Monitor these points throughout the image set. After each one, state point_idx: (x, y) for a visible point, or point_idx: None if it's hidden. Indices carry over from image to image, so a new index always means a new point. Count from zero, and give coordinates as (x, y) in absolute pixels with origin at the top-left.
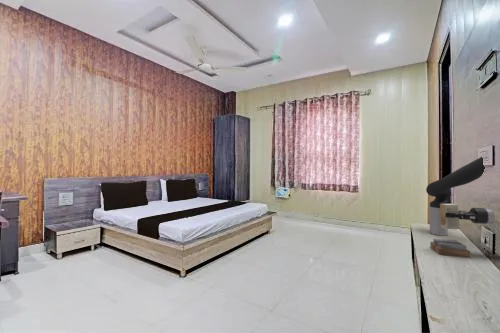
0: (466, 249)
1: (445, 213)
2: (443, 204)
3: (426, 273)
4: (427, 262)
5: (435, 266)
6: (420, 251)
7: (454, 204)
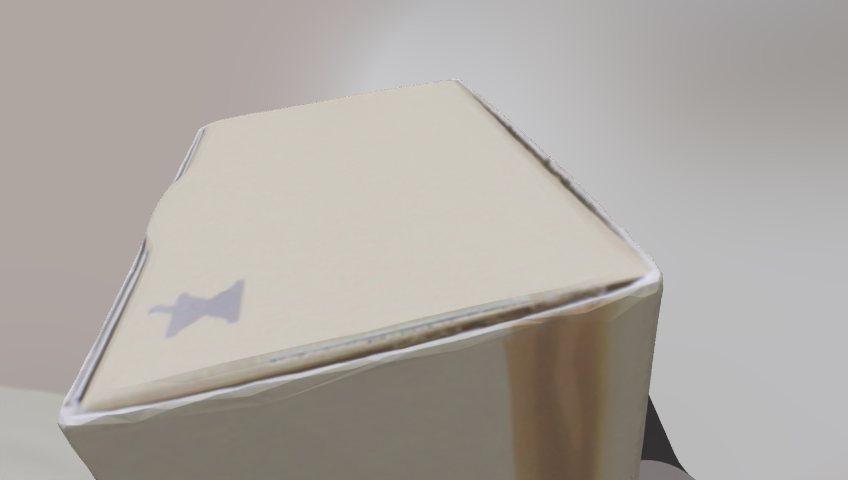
0: None
1: None
2: (304, 108)
3: (4, 399)
4: None
5: (81, 469)
6: None
7: (176, 274)
